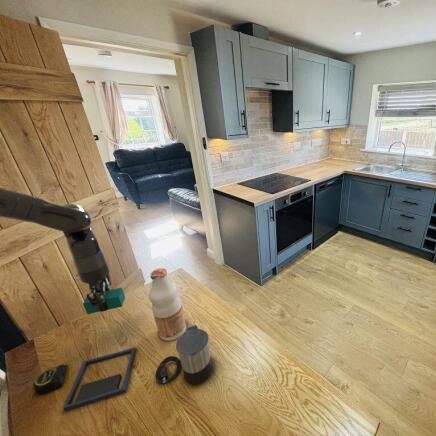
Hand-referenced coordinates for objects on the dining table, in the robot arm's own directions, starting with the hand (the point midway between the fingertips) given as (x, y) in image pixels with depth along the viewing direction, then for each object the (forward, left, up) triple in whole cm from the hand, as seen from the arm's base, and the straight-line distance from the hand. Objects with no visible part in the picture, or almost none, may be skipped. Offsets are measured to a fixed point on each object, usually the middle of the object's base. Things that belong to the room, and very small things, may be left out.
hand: (106, 304), depth 83 cm
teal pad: (0, 0, 0) cm, 0 cm away
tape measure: (-14, -13, -15) cm, 24 cm away
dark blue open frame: (0, -17, -15) cm, 23 cm away
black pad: (0, -21, -15) cm, 26 cm away
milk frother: (+24, -24, -15) cm, 38 cm away
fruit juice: (+19, -5, -15) cm, 25 cm away
